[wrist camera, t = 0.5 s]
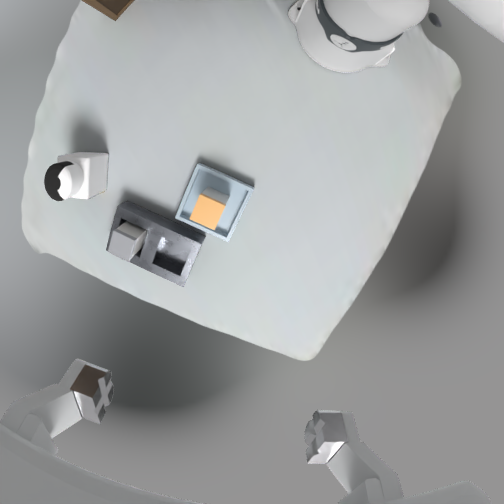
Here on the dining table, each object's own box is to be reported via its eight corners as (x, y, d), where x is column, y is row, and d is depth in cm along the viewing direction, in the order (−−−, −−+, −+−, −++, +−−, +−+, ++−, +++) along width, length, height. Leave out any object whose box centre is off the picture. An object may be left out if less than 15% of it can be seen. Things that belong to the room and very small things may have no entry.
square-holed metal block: (115, 242, 54) (105, 250, 50) (127, 200, 50) (117, 205, 47) (188, 276, 56) (183, 286, 52) (205, 236, 52) (201, 244, 49)
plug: (208, 185, 49) (199, 194, 42) (230, 196, 49) (225, 206, 43) (198, 207, 50) (189, 219, 44) (220, 217, 51) (214, 230, 44)
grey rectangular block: (130, 218, 51) (113, 230, 44) (149, 227, 51) (134, 240, 45) (124, 237, 52) (107, 251, 46) (143, 246, 53) (128, 261, 46)
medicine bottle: (77, 187, 49) (40, 203, 38) (78, 151, 47) (39, 159, 36) (107, 191, 50) (72, 207, 39) (109, 153, 47) (72, 161, 36)
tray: (199, 162, 48) (197, 163, 46) (254, 187, 49) (253, 189, 47) (178, 214, 51) (174, 218, 49) (229, 238, 52) (228, 242, 51)
